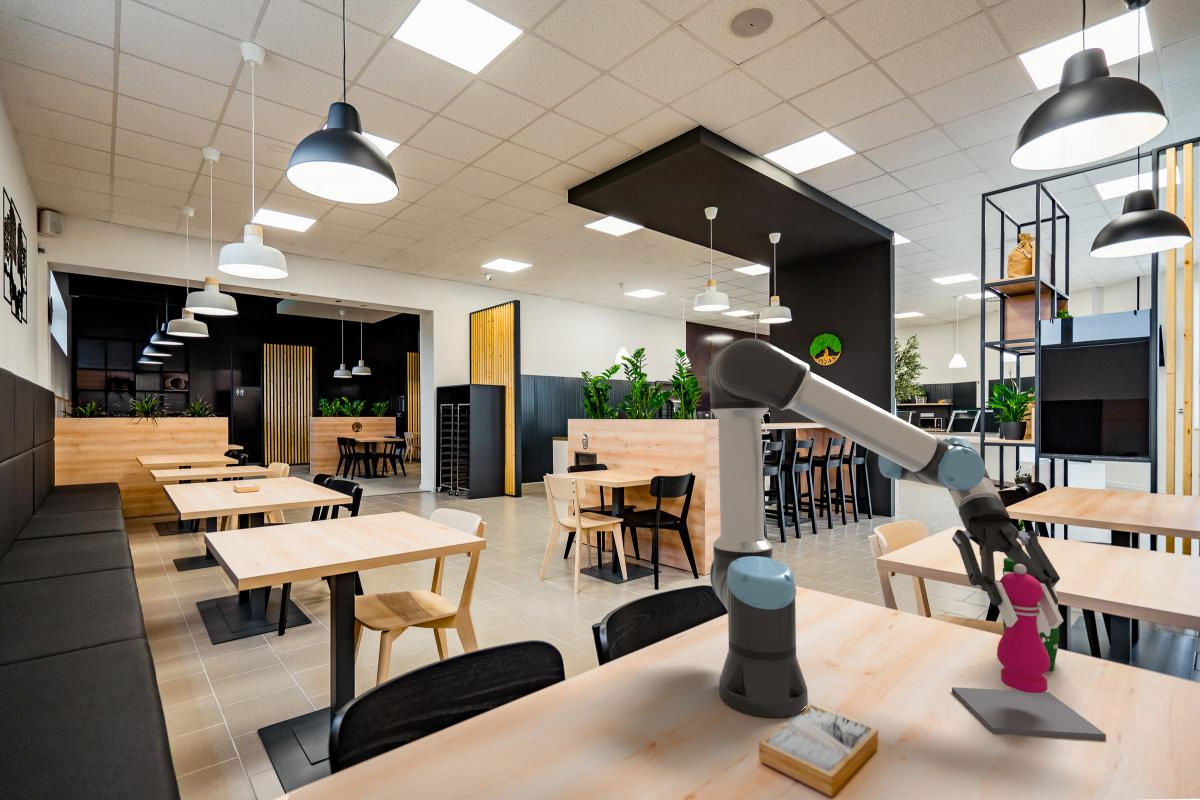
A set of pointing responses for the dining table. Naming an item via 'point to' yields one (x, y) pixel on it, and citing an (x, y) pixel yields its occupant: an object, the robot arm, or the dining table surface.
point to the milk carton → (1040, 622)
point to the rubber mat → (1026, 713)
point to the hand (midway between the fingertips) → (1034, 623)
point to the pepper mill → (1023, 635)
